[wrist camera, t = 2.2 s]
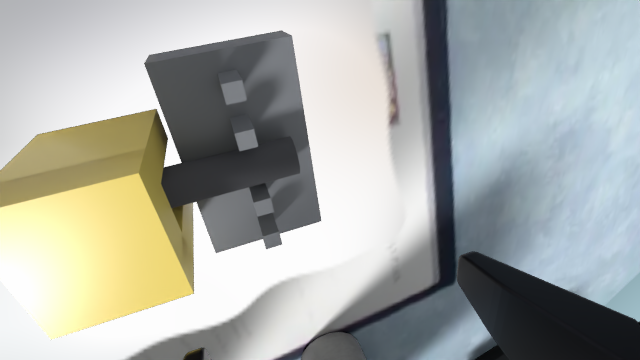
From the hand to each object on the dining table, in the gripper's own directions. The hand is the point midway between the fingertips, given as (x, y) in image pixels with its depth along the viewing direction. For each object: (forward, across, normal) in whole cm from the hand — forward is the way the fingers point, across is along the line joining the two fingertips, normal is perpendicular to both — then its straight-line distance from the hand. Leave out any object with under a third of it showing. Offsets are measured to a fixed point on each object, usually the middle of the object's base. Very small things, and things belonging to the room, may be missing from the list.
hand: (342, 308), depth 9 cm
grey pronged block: (+12, +1, 0) cm, 12 cm away
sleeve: (+12, +7, 0) cm, 14 cm away
